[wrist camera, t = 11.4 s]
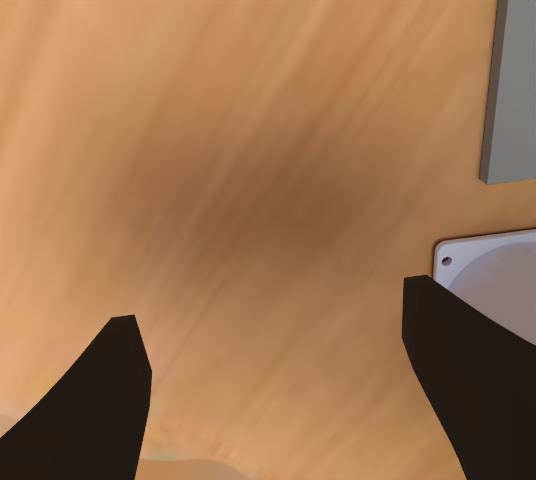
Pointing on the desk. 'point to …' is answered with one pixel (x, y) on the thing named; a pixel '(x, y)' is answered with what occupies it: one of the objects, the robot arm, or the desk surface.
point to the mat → (511, 96)
